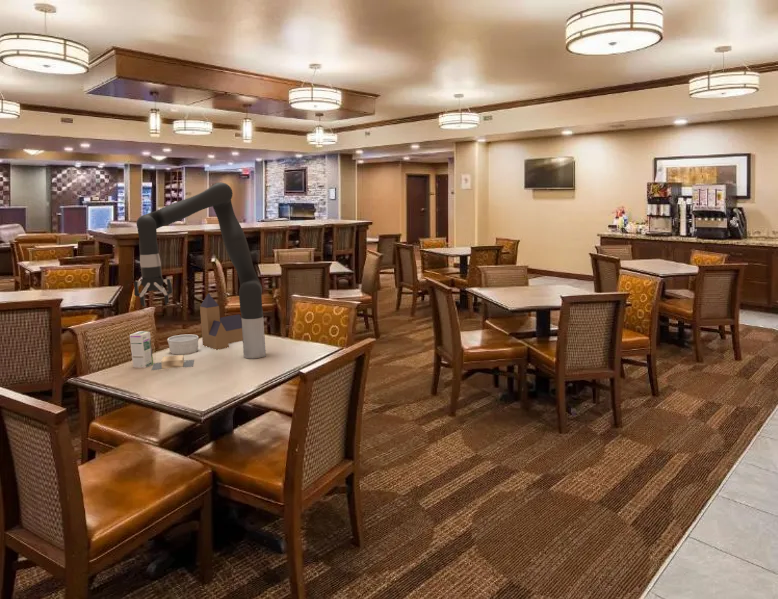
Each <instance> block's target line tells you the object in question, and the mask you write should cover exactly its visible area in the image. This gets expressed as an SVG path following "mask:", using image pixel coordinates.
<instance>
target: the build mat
mask: <svg viewBox="0 0 778 599" xmlns="http://www.w3.org/2000/svg"><path fill="white" fill-rule="evenodd" d="M194 364H195V359H187V360H186V359H184V364H183V367H179V368H178V369H185V368H192V367H194ZM157 370H158V371H159V370H160V371H161V370H162V371H163V370H164V369H162V364H161V362H153V365H152V367H151V371H157ZM166 370H175V368H167V369H166Z"/></svg>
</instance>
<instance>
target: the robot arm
mask: <svg viewBox="0 0 778 599" xmlns="http://www.w3.org/2000/svg"><path fill="white" fill-rule="evenodd" d="M232 198H233V190H232V188H231V186H230V185H229V184H227V183H225V182H222V181H221V182H215V183H213V184H212V185H211V186H210V187H209V188H207V189H205V190H204V191H202V192H200V193H198V194H196V195H193V196H191V197H188V198H185V199H182V200H179V201H175V202H174V203H172V204H169V205H165V206H164V207H162V208H160V209H158V210H155V211H151V212H149V213H146V214H143V215H141V216H140V217H138V218H137V220H136V228H137V234H138V240H139V243H138V246H139V248H138V249H139V262H140V263H139V264H140V269H141V270H140V272H141V273H140V274H141V280H135V281H134V282H133V293H134V296H135V297H139V300H140V306H142V307H146V300H145V299H146V298H145V294H146V293H147V291H149V292H152V291H160V293H162V294H163V295H164V296H163V298H164V304H165V305H168V304H169V302H170V299H169V298H170V297H169V295H170V294H172V293H173V291H174V290H173V286H172V279H171V278H170V277H169V278H167V279H166V278H165V279H164V278H163V274H162V264H161V262H162V261H161V256H160V252H159V243H158V240H157V239H158V238H157V237H158V235H157V234H158V232H157V229H160V228H162V227H164V226H168V225H169V226H170V225H172V224H173V223H177V222H179V221H181V220H184V219H186V218H188V217H190V216H192V215H194V214H196V213H198V212H200V211H203V210H206V209H208V208H211V207H212V208H213V210H214V213H215V216H216V218H217V222H218V226H219V231H220V234H221V237H222V241H223V244H224V247H225V252H226V253H227V256H228V257H229V259H230V261H231V263H232V265H233V267H234V269H235V270H236V273H237V275H238V276H237V277H238V280H239V281H238V282H239V286H240V287H239V290H238V300H239V312H240V317H241V320H242V336H243V341H242V351H243V352H242V353H243V358H246V359H259V358H264V357H266V356H267V355H266V354H267V353H266V351H267V350H266V337H265V336H266V334H265V327H264V326H265V323H264V322H265V321H264V311H263V299H262V293H263V287H262V284H261V281H260V279H259V278H258V274H257V272H256V270H255V268H254V264H253V260H252V255H251V252H250V248H249V243H248V241H247V240H248V239H247V238H246V235H245V231H244V230H243V228H242V226H241V224H240V221H239V220H238V218H237V216H236V214H235V211H234V206H233V204H232ZM164 283H165V285H167V290H166V288H165V287H164V286H163V284H164ZM141 285H142V286H143V289H142V291H141V292H139V291H140V290H139V287H140V286H141Z"/></svg>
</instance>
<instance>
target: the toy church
mask: <svg viewBox="0 0 778 599" xmlns="http://www.w3.org/2000/svg"><path fill="white" fill-rule="evenodd" d="M199 310H200V311H199V312H200V326H201V339H202V346H203V345H204V347H206V346H207V347H206V348H209V347H210V349H212V348H213V350H215V349H216V350H215V351H218V349H219V350H223V349H227V347H228V348H229V347H230V346H229V345H230V344H234V343H238V342H243V336H242V319H241V313H240V314H235V315H234V314H233V315H228V316H223V317H221V316H220V305H219V304H218V303H217V302H216V300H215V299H214V297H212V295H211V294H210V293H209V292H208V293H207V294H206V296H205V298H204V299H203V301H202V303H201V304H200V306H199ZM222 348H223V349H222Z"/></svg>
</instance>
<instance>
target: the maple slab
mask: <svg viewBox="0 0 778 599" xmlns="http://www.w3.org/2000/svg"><path fill="white" fill-rule="evenodd" d="M184 356H185V354H181V355H167V356H162V359H161V364H162V369H163V370H168V369H167V368H174V369H180V368H179V367H183V364H184V360H185V358H184Z"/></svg>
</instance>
